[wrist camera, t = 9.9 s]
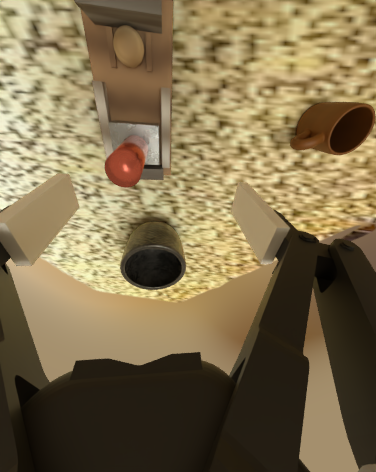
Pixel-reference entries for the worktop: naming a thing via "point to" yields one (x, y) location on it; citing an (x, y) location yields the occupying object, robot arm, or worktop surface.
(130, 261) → the planter
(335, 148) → the mug
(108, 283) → the worktop surface
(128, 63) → the walnut
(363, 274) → the robot arm
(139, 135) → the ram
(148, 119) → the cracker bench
